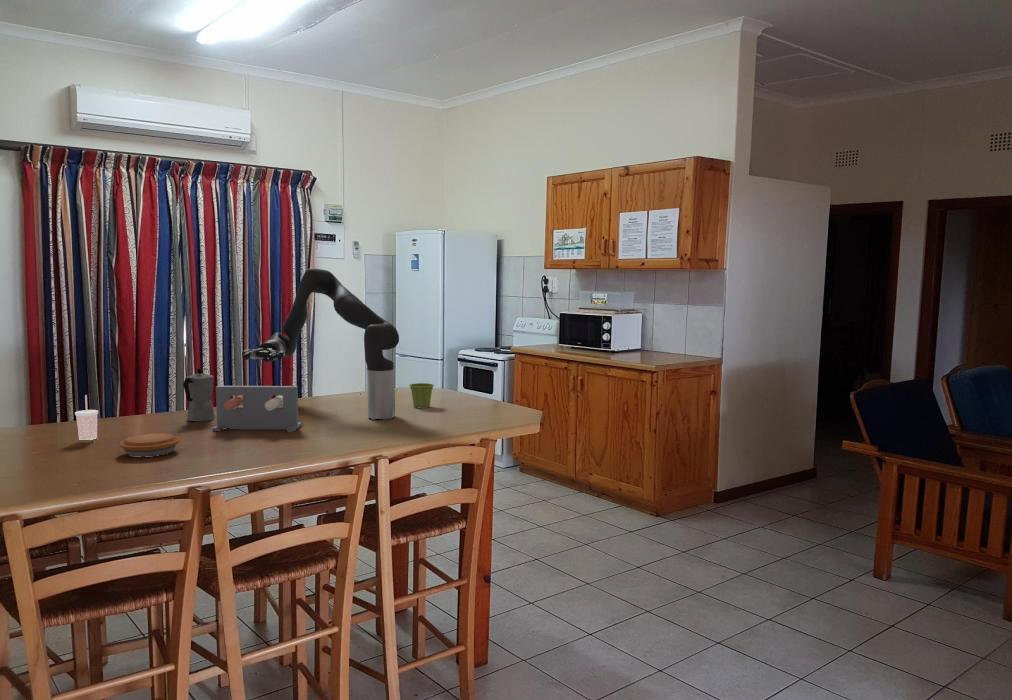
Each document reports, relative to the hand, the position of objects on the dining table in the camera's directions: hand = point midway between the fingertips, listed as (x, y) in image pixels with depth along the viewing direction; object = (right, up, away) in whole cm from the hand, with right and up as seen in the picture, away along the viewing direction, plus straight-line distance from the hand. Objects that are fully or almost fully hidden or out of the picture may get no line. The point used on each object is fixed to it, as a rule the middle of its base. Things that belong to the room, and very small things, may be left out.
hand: (257, 357), depth 261 cm
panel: (+6, -23, -19) cm, 30 cm away
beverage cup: (-39, -25, -38) cm, 60 cm away
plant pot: (+55, -20, +23) cm, 63 cm away
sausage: (0, -17, -20) cm, 26 cm away
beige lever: (+13, -17, -20) cm, 29 cm away
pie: (-13, -27, -53) cm, 60 cm away
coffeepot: (-19, -22, -5) cm, 29 cm away
